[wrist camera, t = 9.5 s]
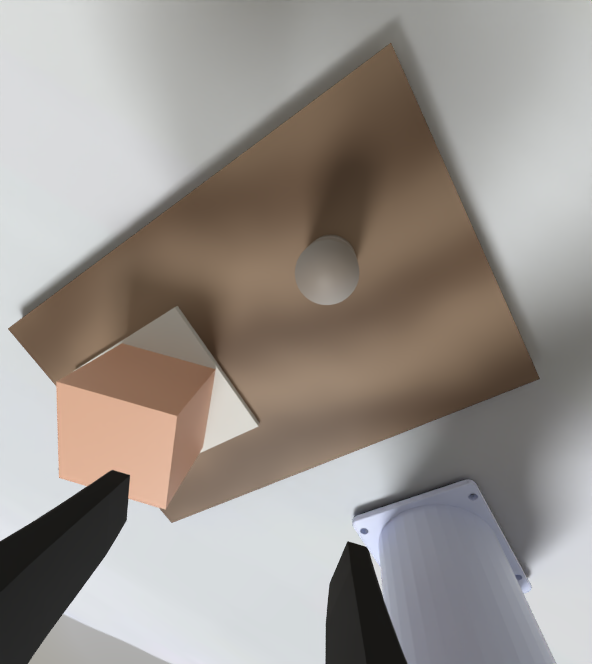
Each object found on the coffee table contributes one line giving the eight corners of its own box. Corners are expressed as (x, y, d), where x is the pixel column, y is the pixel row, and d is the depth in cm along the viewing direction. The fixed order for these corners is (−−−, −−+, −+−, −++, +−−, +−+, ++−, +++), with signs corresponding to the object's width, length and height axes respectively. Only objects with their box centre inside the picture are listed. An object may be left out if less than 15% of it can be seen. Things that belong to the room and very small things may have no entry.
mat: (259, 423, 19) (258, 426, 19) (157, 470, 22) (155, 473, 21) (177, 305, 18) (174, 307, 17) (75, 369, 20) (72, 372, 20)
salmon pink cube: (202, 447, 20) (165, 509, 16) (118, 423, 20) (59, 477, 16) (215, 369, 18) (177, 416, 14) (121, 343, 18) (56, 381, 14)
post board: (529, 369, 17) (589, 420, 13) (178, 510, 24) (143, 574, 20) (387, 54, 14) (407, -16, 10) (23, 323, 20) (-61, 351, 16)
